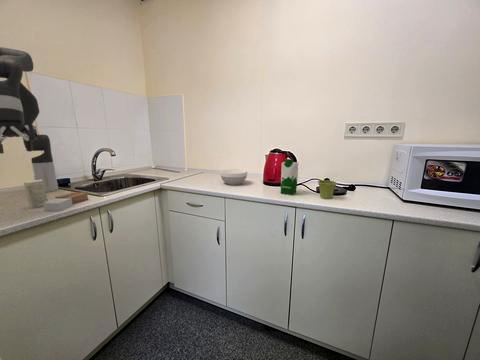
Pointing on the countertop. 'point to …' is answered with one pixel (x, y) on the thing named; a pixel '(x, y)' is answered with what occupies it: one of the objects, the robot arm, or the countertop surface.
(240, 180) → the bowl
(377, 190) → the countertop surface
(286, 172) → the milk carton
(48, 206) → the grey block
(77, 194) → the walnut block
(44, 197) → the skincare box
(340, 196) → the countertop surface
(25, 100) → the robot arm
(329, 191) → the plant pot
